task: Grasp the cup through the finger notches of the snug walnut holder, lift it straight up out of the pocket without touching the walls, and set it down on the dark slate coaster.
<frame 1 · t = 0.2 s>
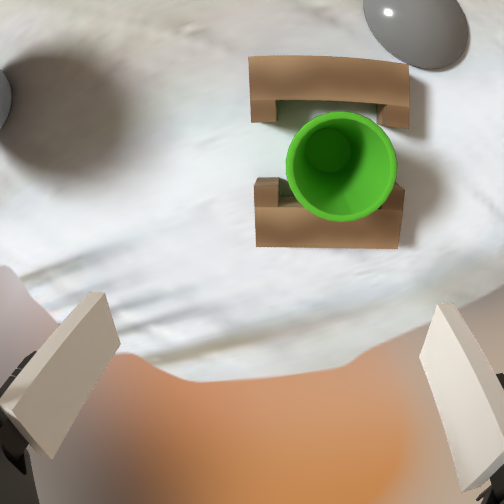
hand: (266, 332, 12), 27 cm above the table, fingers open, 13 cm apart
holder: (328, 149, 34), on the table
coaster: (417, 17, 25), on the table
cup: (328, 149, 34), on the table
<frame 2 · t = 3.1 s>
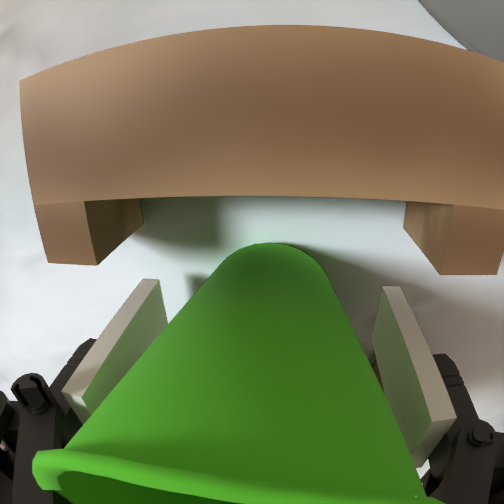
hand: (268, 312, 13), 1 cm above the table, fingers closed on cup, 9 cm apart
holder: (271, 293, 14), on the table
cup: (271, 290, 14), on the table, touching gripper
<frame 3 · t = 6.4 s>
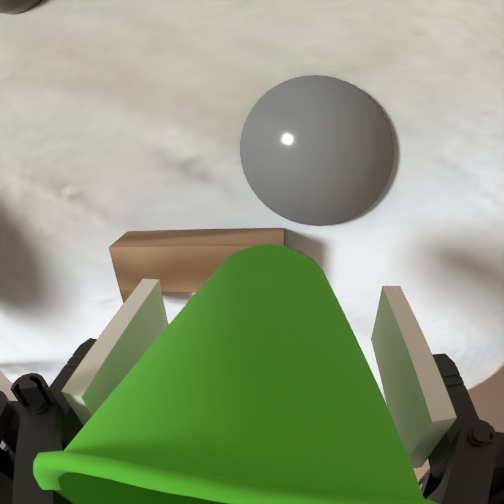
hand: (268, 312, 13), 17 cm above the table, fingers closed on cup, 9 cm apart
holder: (212, 316, 35), on the table
coaster: (317, 150, 26), on the table
cup: (270, 292, 15), point 15 cm above the table, touching gripper
when the fingers open (4 cm above the table, at t = 9.8 s): cup drops 1 cm, resting on coaster.
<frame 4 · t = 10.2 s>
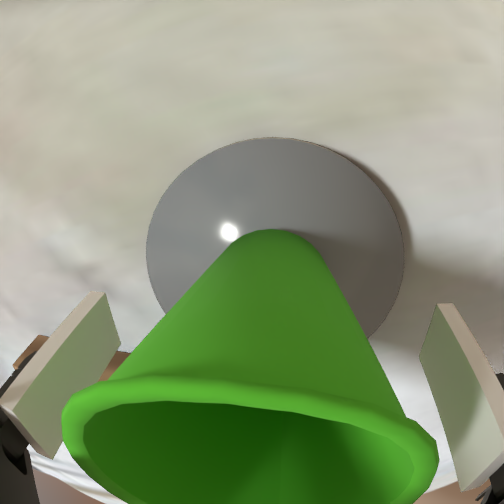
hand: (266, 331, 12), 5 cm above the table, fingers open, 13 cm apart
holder: (148, 429, 25), on the table
coaster: (274, 269, 16), on the table
cup: (272, 274, 16), point 1 cm above the table, touching coaster
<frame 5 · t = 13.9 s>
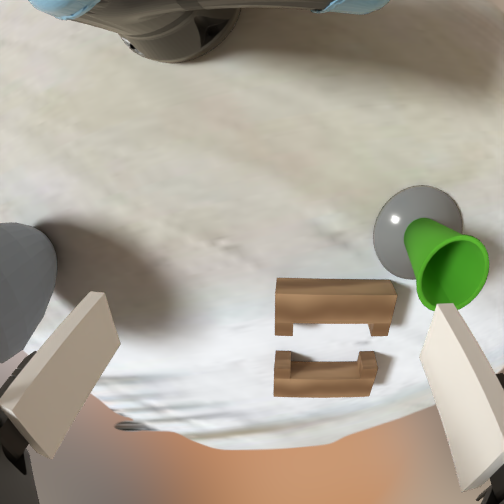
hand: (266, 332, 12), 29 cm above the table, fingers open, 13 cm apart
vase: (41, 250, 47), on the table
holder: (328, 336, 47), on the table
coaster: (418, 233, 39), on the table
cup: (420, 235, 38), point 1 cm above the table, touching coaster
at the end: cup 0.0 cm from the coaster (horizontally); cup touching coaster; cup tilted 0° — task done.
